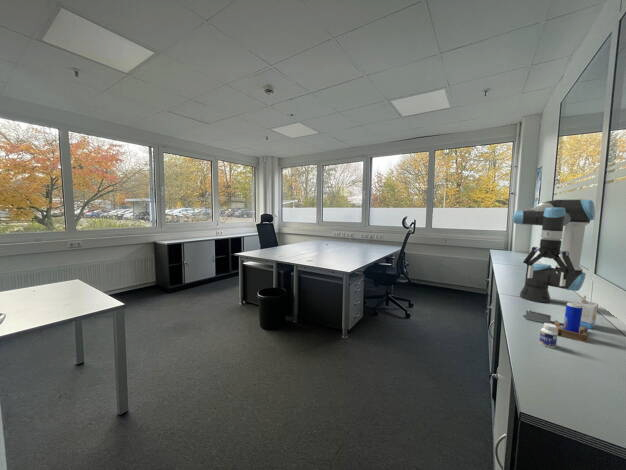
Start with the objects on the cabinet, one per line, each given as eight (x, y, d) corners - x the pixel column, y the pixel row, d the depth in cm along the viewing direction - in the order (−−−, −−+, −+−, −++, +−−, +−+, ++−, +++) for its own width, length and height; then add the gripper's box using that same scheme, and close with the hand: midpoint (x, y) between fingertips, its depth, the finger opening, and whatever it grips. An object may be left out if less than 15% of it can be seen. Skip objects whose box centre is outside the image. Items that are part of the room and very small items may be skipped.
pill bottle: (536, 342, 110) (538, 323, 109) (543, 340, 112) (545, 321, 111) (551, 349, 105) (554, 328, 105) (558, 347, 108) (561, 326, 107)
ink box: (591, 329, 125) (596, 300, 124) (577, 325, 129) (581, 297, 128) (595, 325, 130) (599, 297, 128) (581, 321, 134) (585, 294, 132)
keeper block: (523, 316, 138) (523, 311, 138) (585, 330, 124) (585, 324, 124) (524, 327, 125) (525, 321, 125) (594, 344, 111) (595, 337, 110)
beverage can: (562, 331, 122) (567, 301, 121) (578, 335, 119) (582, 304, 117) (562, 334, 119) (566, 303, 117) (578, 339, 115) (583, 307, 113)
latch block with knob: (525, 317, 136) (526, 308, 136) (549, 322, 131) (550, 313, 130) (525, 318, 135) (526, 309, 134) (549, 324, 129) (551, 314, 128)
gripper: (518, 236, 135) (513, 275, 137) (579, 243, 111) (572, 290, 114) (527, 236, 137) (522, 274, 140) (589, 242, 114) (582, 288, 116)
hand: (545, 281), depth 127 cm, fingers open, 13 cm apart
